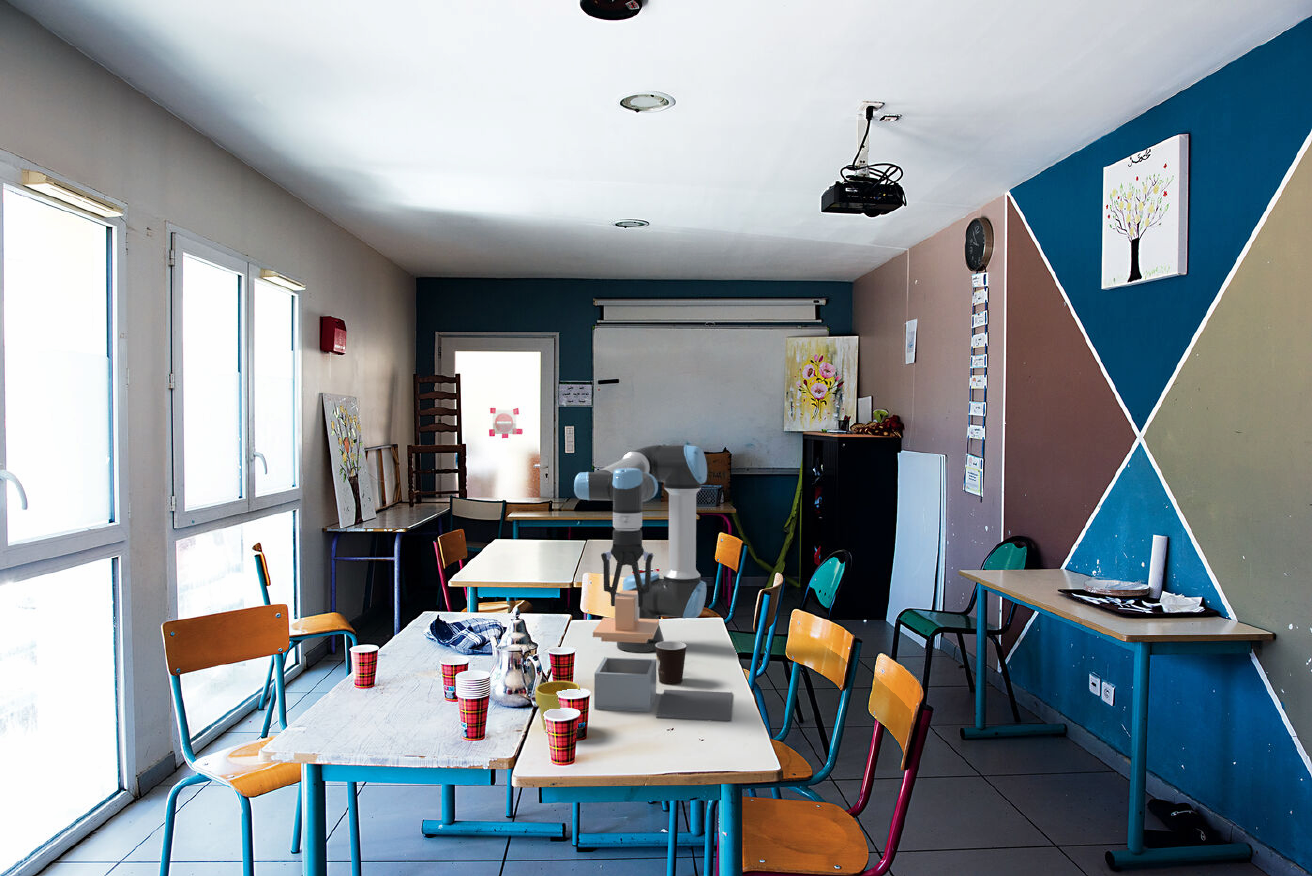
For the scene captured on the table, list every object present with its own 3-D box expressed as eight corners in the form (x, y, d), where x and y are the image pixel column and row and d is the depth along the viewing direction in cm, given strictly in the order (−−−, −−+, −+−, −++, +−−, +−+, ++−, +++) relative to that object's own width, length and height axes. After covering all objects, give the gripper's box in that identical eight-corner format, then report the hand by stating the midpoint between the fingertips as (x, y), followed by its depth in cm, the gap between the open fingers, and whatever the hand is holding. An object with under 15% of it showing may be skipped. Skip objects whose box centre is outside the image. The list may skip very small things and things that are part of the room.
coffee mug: (683, 687, 218) (683, 650, 218) (652, 684, 219) (652, 648, 219) (690, 674, 229) (690, 639, 229) (660, 672, 231) (660, 637, 231)
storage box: (604, 690, 214) (604, 657, 214) (656, 693, 213) (656, 659, 213) (594, 709, 200) (594, 673, 200) (649, 711, 199) (650, 675, 199)
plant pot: (530, 736, 182) (531, 694, 182) (540, 720, 193) (540, 679, 192) (575, 738, 182) (576, 695, 181) (583, 721, 192) (583, 680, 192)
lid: (603, 627, 215) (603, 587, 215) (659, 629, 213) (659, 589, 213) (592, 643, 200) (592, 600, 200) (652, 645, 198) (652, 602, 198)
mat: (664, 691, 214) (664, 689, 214) (732, 694, 213) (732, 692, 213) (656, 718, 195) (656, 716, 195) (730, 721, 193) (730, 719, 193)
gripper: (590, 530, 203) (590, 621, 204) (659, 531, 201) (659, 623, 202) (596, 526, 211) (596, 614, 211) (663, 527, 209) (662, 616, 209)
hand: (627, 618), depth 206 cm, fingers closed on lid, 4 cm apart
